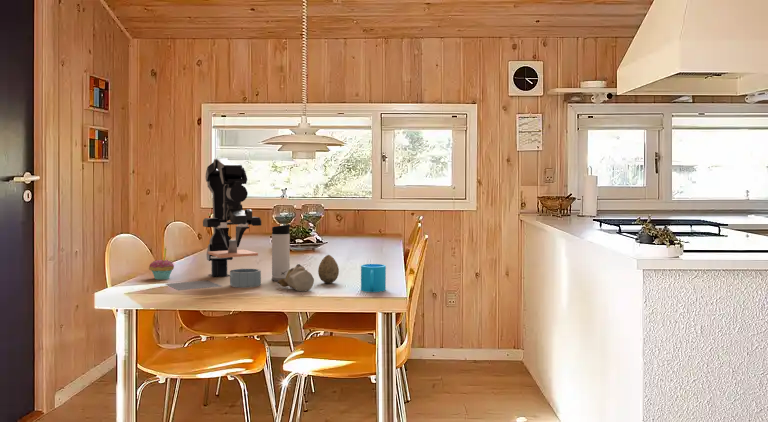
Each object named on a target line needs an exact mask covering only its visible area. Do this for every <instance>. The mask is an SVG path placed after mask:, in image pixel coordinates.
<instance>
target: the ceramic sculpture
mask: <svg viewBox="0 0 768 422" xmlns="http://www.w3.org/2000/svg"><path fill="white" fill-rule="evenodd" d="M314 282H315V278H314V276H313V275H312V273H311V272H310V271H308V269H307V270H306V268H305V267H304V266H303V265H301V264H298V263H297V264H296V266H295V267H290V270H289V271H288V273H287V276H286V279H281V280H277V281H276V283H277V284H278V285H279V286H281V287H285V288H286V287H287V288H288V287H290V288H291V289H293V290H296V291H297V292H303V293H304V292H308V291H310V290H311V289H312V287H314Z"/></svg>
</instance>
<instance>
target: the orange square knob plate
mask: <svg viewBox="0 0 768 422" xmlns="http://www.w3.org/2000/svg"><path fill="white" fill-rule="evenodd" d="M208 254H210V255H213V256H216V257H219V258H226V257H233V258H240V257H242V258H243V257H257V256H259V253H258V252H255V251H251V250H249V249H248V250H247V249H238V247H237V240H236V239H231V240H229V248H228V250H227V251H208Z"/></svg>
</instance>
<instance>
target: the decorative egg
mask: <svg viewBox="0 0 768 422" xmlns="http://www.w3.org/2000/svg"><path fill="white" fill-rule="evenodd" d="M339 270H340V268H339V265H338V263H337V261H336V259H335V258H334V257H333V256H332V255H330V254H327V255H325V256H324V257H323V258H322V259H321V260H320V263H319V266H318V270H317V274H318V277H319V279H320V280H321V281H322V282H323V283H324V284H332V283H334V282H335V281H337V280H338V276H339V272H340V271H339Z"/></svg>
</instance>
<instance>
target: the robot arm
mask: <svg viewBox="0 0 768 422" xmlns="http://www.w3.org/2000/svg"><path fill="white" fill-rule="evenodd" d="M205 182H206V183H207V184H206V185H207V188H208V189H209V191H210V192H211V197H212V199H211V200H212V217H204V219H203V220H202V227H204V228H213V233H212V235H211V237H210V239H209V243H208V245H207V250H206V260H207V261H208V262H211V265H210V266H211V273H209V274H208V276H209V277H211V278H222V277H223V278H225V277H226V278H227V277H230V274H228V261H232V260H233V259H234V257H226V258H219V257H216V256H213V255H210V254H208V251H227V250H228V248H229V240H232V238H231V237H230V235H229V230H230V227H228V225H233V226H234V225H235V240H237V248H239V247H240V244H241V241H242V238H243V235H244V233H245V231H246V230H247V229H250V226H255V227H257V226H259V227H260V226H262V219H261V217H259V216H253V210H252V209H251V208H250V209H249V208H246V209H245V210H244V209H243V204H242V202H244V201H245V200H246V199H247V197H248V190H247V188H246V187H245V186H244V185H247V183H248V176H247V171H246V170H245V168H244V167H243V165H242V164H241V163H232V162H231V161H230V160H229V158H227V157H216V158H214V159H213V161H212V163H211V164H209V165H208V166H207V167H206V171H205ZM249 225H250V226H249Z"/></svg>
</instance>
